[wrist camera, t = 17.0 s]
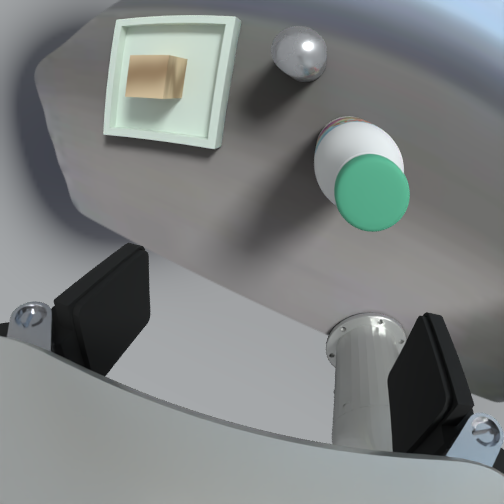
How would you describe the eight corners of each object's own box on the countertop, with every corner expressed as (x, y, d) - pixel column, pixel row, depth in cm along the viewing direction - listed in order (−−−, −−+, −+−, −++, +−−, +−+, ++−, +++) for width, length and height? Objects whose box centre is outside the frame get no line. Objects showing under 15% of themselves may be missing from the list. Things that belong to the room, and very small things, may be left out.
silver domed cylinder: (322, 86, 32) (321, 81, 25) (279, 77, 33) (267, 71, 26) (329, 46, 30) (330, 31, 23) (286, 38, 31) (275, 22, 24)
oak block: (181, 98, 35) (162, 98, 31) (146, 95, 36) (124, 96, 31) (187, 59, 33) (169, 54, 28) (151, 58, 33) (130, 55, 29)
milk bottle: (382, 180, 36) (429, 256, 18) (318, 180, 37) (310, 257, 20) (380, 116, 32) (437, 132, 15) (313, 116, 34) (303, 131, 17)
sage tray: (221, 146, 38) (214, 149, 36) (113, 131, 40) (103, 134, 38) (241, 21, 30) (235, 16, 28) (126, 22, 32) (116, 19, 30)
